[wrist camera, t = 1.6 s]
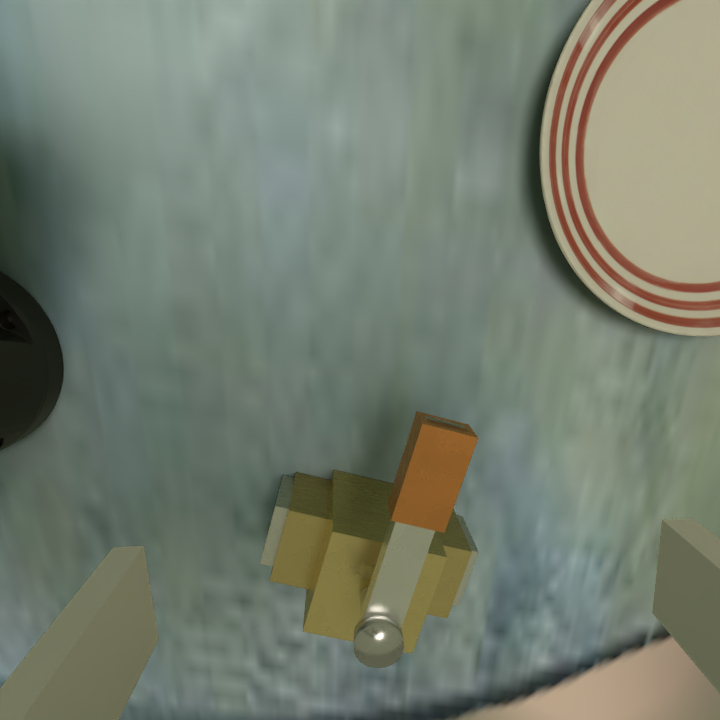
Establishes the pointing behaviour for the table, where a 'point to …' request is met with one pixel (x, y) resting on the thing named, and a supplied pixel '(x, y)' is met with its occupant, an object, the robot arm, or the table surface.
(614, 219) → the dinner plate
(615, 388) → the table surface
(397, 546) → the valve lever
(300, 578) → the valve pipe
